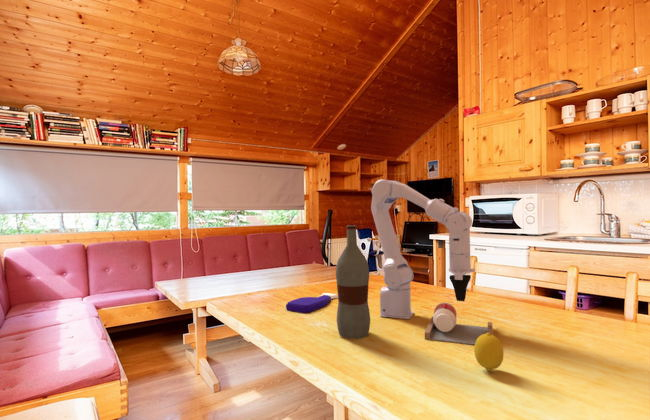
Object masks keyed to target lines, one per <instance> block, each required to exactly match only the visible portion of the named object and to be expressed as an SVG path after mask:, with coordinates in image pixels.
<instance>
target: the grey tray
mask: <svg viewBox="0 0 650 420" xmlns="http://www.w3.org/2000/svg"><path fill="white" fill-rule="evenodd" d="M493 327H494V326H493V322H492V321H487V326H480V325H479V326H478V325H470V324H469V325H468V324H460V323H459V324H458V323H456V325H455V327H454V328H453V329H452V330H450V331H448V332H442V331H440V330H439V329H438V328H437V327H436V326H435V325H434V322H433V316H431V318H430V320H429V322H428V324H427V327H426V329H425V330H424V340H429V341H438V342H444V343H445V342H446V343H452V344H453V343H454V344H463V345H470V346H475V343H476V340H477V338H478V337H479V336H481V335H483V334H486V333H490V334H491V335H494V330H493V329H494V328H493Z"/></svg>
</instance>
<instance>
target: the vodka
mask: <svg viewBox="0 0 650 420" xmlns="http://www.w3.org/2000/svg"><path fill="white" fill-rule="evenodd" d="M357 244H358V241H357V225H352V224H351V225H350V224H348V225H346V246H345V248H344V249H343V251H342V252H341V254H340V255H339V258H338V260H337V261H336V269H335V279H336V289H337V295H338V298H337V300H338V301H337V303H338V304H337V311H336V312H337V313H336V326H337V332H338V334H339V336H340V337H342V338H344V339H350V340H359V339H364V338H367V337H368V336H369V331H370V326H371V316H370V315H371V314H370V313H371V312H370V308H369V302H368V298H369V284H370V283H369V282H370V281H369V280H370V269H369V264H368V259H366V257H365V255H364V254H363V252H362V250H361V248H359V245H357Z"/></svg>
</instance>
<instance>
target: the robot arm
mask: <svg viewBox="0 0 650 420" xmlns="http://www.w3.org/2000/svg"><path fill="white" fill-rule="evenodd" d="M370 192H371V194H372V195H371V197H372V198H371V204H370V205H371V206H370V211H371V214H372V217H373V221H374V224H375V228H376V232H377V234H378V238H379V242H380V245H381V249H382V251H383V252H382V253H383V255H384V259H385V261H384V263H383V266H382V269H383V282H384V284H385V285H386V286H382V287H381V289H380V294H379V296H380V297H379V299H380V300H379V304H380V305H379V306H380V310H379V311H380V314H379V317H382V318H394V319H404V320H410V319H411V318H412V316H413V315H414V314H415V311H414V310H412V309H411V308H412V303H411V302H412V301H411V297H412V295H411V282H412V281H413V280H414V271H413V269H412V268H411V267H410V266H409V264H408V263H409V262H408V261H407V259H405V258H404V256H403V255H402V252H401V249H400V245H399V242H398V239H397V235H396V231H395V229H394V225H393V223H392V219H391V215H390V211H389V210H390V209H391V207H392V205H393V204H394V203H395V202H396V201H397V200H399V198H403V199H406V200H408V201H409V202H411V203H413V204H415V205H417V206H418V207H421V208H422V209H424V211H425V215H427V216H428V217H430V218H431V219H433V220H435V221H436V222H438V223H440V224H441V225H444V226H445V228H446V229H447V230H448V247H449V248H448V249H449V258H448V259H449V268H448V272H450V273H451V274H450V275H449V280H450V282H451V284H452V287H453V290H454V295H455V299H456V301H457V302H465V301H466V295H467V288H468V285H469V282H470V281H471V280H472V279H471V277H472V276H471V275H470V274H471V273H475V272H476V269H475V268H472V267H471V266H472V265H471V237H470V236H471V235H470V234H471V233H470V228H471V227H472V225H473V220H472V217H471V215H469V214H468V213H467V212H466V211H459V208H458V207H456V206H454V207H453V206H451V205H449V204H447V203H445V200H444V199H442V198H439V199H438V198H434V199H433V198H432V199H430V198H428V197H427V196H425V195H423V194H422V193H420V192H419V191H417V190H416V189H414V188H413V187H410V186H409V185H407V184H406V183H403V182H400V181H398V180H389V179H384V178H381V179H378V180H376V181H375V183H374V184H373V186H372V188H371V189H370Z"/></svg>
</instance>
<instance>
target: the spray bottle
mask: <svg viewBox="0 0 650 420" xmlns="http://www.w3.org/2000/svg"><path fill="white" fill-rule="evenodd" d="M332 299H338V294H336V293H330V292H323V293H321V295H317V297H316V296H304V297H299V298H295V299H293V300H290V301H288V302H286V304H285V309H286V311H289V312H295V313H301V314H308V313H311V312H315V311H317V310H319V309H322V308H324V307H326V306H327V305H328V303H329V302H330V301H331V300H332Z"/></svg>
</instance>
